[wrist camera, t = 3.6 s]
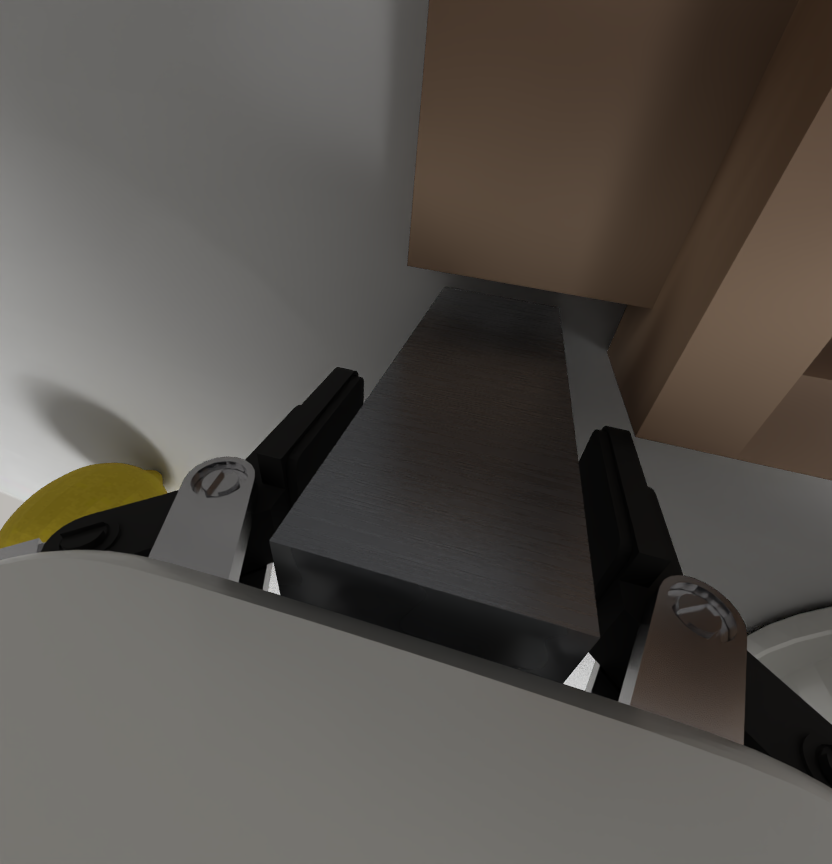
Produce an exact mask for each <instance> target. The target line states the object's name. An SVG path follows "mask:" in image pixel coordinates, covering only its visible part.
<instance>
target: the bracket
mask: <svg viewBox="0 0 832 864" xmlns="http://www.w3.org/2000/svg"><path fill="white" fill-rule="evenodd" d="M269 542H270V547H271V552H272V556H273V561H274V566H275V571H276V576H277V581H278V586H279V590H280V595H281V596H284V597H287V598H290V599H294V600H297V601H300V602H303V603H307V604H310V605H313V606H316V607H320V608H323V609H326V610H329V611H333V612H336V613H339V614H342V615H346V616H349V617H352V618H355V619H358V620H362V621H365V622H368V623H371V624H374V625H378V626H381V627H384V628H387V629H390V630H394V631H397V632H400V633H403V634H406V635H410V636H413V637H416V638H419V639H422V640H426V641H429V642H432V643H435V644H438V645H442V646H445V647H448V648H451V649H454V650H457V651H461V652H464V653H467V654H470V655H473V656H477V657H480V658H483V659H486V660H489V661H492V662H496V663H499V664H502V665H505V666H508V667H511V668H514V669H518V670H521V671H524V672H527V673H530V674H533V675H536V676H539V677H543V678H546V679H549V680H552V681H555V682H558V683H561V684H563V683H564V681H565V680H566V679H567V678H568V677H569V675H570V674H571V673H572V672H573V670H574V669H575V668H576V667H577V666H578V664H579V663H580V662H581V661H582V659H583V658H584V657H585V656H586V655H587V653H588V652H589V651H590V650H591V648H592V647H593V646H594V645H595V644H596V642H597V641H598V640H599V639H600V632H599V624H598V616H597V608H596V600H595V592H594V584H593V576H592V568H591V560H590V552H589V544H588V536H587V528H586V520H585V512H584V504H583V496H582V488H581V479H580V471H579V463H578V455H577V447H576V439H575V431H574V423H573V415H572V407H571V399H570V391H569V383H568V375H567V367H566V359H565V351H564V343H563V335H562V327H561V319H560V311H559V307H553V306H548V305H542V304H537V303H531V302H526V301H520V300H515V299H509V298H504V297H498V296H493V295H487V294H482V293H476V292H471V291H465V290H460V289H454V288H449V287H444V288H443V290H442V291H441V293H440V294H439V296H438V297H437V299H436V300H435V301H434V303H433V304H432V306H431V307H430V309H429V310H428V312H427V313H426V314H425V316H424V317H423V319H422V320H421V322H420V323H419V325H418V326H417V327H416V329H415V330H414V332H413V333H412V335H411V336H410V338H409V339H408V341H407V342H406V343H405V345H404V346H403V348H402V349H401V351H400V352H399V354H398V355H397V356H396V358H395V359H394V361H393V362H392V364H391V365H390V367H389V368H388V369H387V371H386V372H385V374H384V375H383V377H382V378H381V380H380V381H379V383H378V384H377V385H376V387H375V388H374V390H373V391H372V393H371V394H370V396H369V397H368V398H367V400H366V401H365V403H364V404H363V406H362V407H361V409H360V410H359V411H358V413H357V414H356V416H355V417H354V419H353V420H352V422H351V423H350V424H349V426H348V427H347V429H346V430H345V432H344V433H343V435H342V436H341V438H340V439H339V440H338V442H337V443H336V445H335V446H334V448H333V449H332V451H331V452H330V453H329V455H328V456H327V458H326V459H325V461H324V462H323V464H322V465H321V466H320V468H319V469H318V471H317V472H316V474H315V475H314V477H313V478H312V480H311V481H310V482H309V484H308V485H307V487H306V488H305V490H304V491H303V493H302V494H301V495H300V497H299V498H298V500H297V501H296V503H295V504H294V506H293V507H292V508H291V510H290V511H289V513H288V514H287V516H286V517H285V519H284V520H283V521H282V523H281V524H280V526H279V527H278V529H277V530H276V532H275V533H274V535H273V536H272V537H271V539H270V540H269Z"/></svg>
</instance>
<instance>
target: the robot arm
mask: <svg viewBox="0 0 832 864" xmlns="http://www.w3.org/2000/svg"><path fill="white" fill-rule="evenodd" d="M363 398H364V380H363V378H361V377H358V373H357V371H353V370H349V369H344V368H340V367H337V368H335V369H334V370H333V371H332V372H331V374H330V375H329V376H328V377H327V378H326V379H325V380H324V381H323V382H322V383H321V384H320V385H319V386H318V388H317V389H316V390H315V391H314V392H313V393H312V394H311V395H310V396H309V397H308V398H307V399H306V400H305V401H304V403H303V404H302V405H298V406H296V407H295V408H294V409H293V410H292V411H291V412H290V413H289V414H288V415H287V416H286V417H285V418H284V419H283V420H282V422H281V423H280V424H279V425H278V426H277V427H276V428H275V429H274V430H273V431H272V432H271V433H270V434H269V435H268V436H267V437H266V438H265V439H264V441H263V442H262V443H261V444H260V445H259V446H258V447H257V448H256V449H255V450H254V451H253V452H252V453H251V454H250V455H249V456H248V457H247V458H246V460H244V459H241V458H238V457H219V458H214V459H211V460H208V461H205V462H203V463H201V464H199V465H197V466H196V467H195V468H193V469H192V470H191V471H190V472H189V473H188V474H187V476H186V477H185V478H184V480H183V482H182V484H181V487H180V489H179V490H178V491H174V492H170V493H167V494H163V495H159V496H156V497H152V498H148V499H145V500H141V501H137V502H134V503H130V504H126V505H123V506H119V507H115V508H112V509H108V510H104V511H101V512H97V513H93V514H90V515H87V516H84V517H81V518H78V519H75V520H74V521H72V522H70V523H68V524H66V525H64V526H63V527H61V528H60V529H59V530H58V531H56V532H55V533H54V534H53V535H51V537H50V538H49V539H48V540H47V541H46V542H44V543H43V542H42V541H41V540H40V539H39V538H37V539H33V540H30V541H26V542H22V543H19V544H15V545H12V546H8V547H5V548H1V549H0V864H832V606H831V607H826V608H822V609H818V610H813V611H809V612H805V613H800V614H797V615H794V616H791V617H789V618H786V619H783V620H780V621H777V622H774V623H771V624H769V625H767V626H765V627H763V628H761V629H759V630H757V631H755V632H753V633H751V634H750V635H748V636H747V632H746V626H745V623H744V621H743V620H742V618H741V616H740V614H739V612H738V611H737V610H736V609H735V607H734V606H733V605H732V604H731V602H730V601H729V600H728V599H726V598H725V597H724V596H723V595H722V594H721V593H720V592H719V591H717V590H716V589H714V588H712V587H711V586H709V585H708V584H706V583H704V582H702V581H700V580H697V579H695V578H693V577H688V576H683V573H682V570H681V567H680V564H679V562H678V559H677V556H676V553H675V550H674V547H673V544H672V541H671V538H670V535H669V532H668V529H667V526H666V523H665V520H664V517H663V514H662V511H661V508H660V505H659V502H658V499H657V496H656V494H655V492H654V490H653V489H652V488H650V487H648V486H647V483H646V480H645V477H644V474H643V471H642V468H641V464H640V461H639V458H638V455H637V452H636V449H635V446H634V443H633V440H632V437H631V434H630V432H629V431H627V430H622V429H618V428H613V427H609V426H605V427H603V429H602V430H594V432H593V433H592V435H591V437H590V440H589V442H588V444H587V446H586V448H585V450H584V452H583V454H582V456H581V458H580V461H579V471H580V479H581V488H582V496H583V504H584V512H585V520H586V528H587V536H588V544H589V552H590V560H591V568H592V576H593V584H594V592H595V600H596V608H597V616H598V624H599V632H600V639H599V640H598V641H597V642H596V644H595V645H594V646H593V647H592V648H591V650H590V651H589V653H590V654H591V655H592V657H593V658H594V659H595V660H596V661H595V663H594V666H593V669H592V672H591V675H590V678H589V681H588V684H587V686H586V689H585V691H583V690H580V689H577V688H574V687H571V686H568V685H565V684H561V683H558V682H555V681H552V680H549V679H546V678H543V677H539V676H536V675H533V674H530V673H527V672H524V671H521V670H518V669H514V668H511V667H508V666H505V665H502V664H499V663H496V662H492V661H489V660H486V659H483V658H480V657H477V656H473V655H470V654H467V653H464V652H461V651H457V650H454V649H451V648H448V647H445V646H442V645H438V644H435V643H432V642H429V641H426V640H422V639H419V638H416V637H413V636H410V635H406V634H403V633H400V632H397V631H394V630H390V629H387V628H384V627H381V626H378V625H374V624H371V623H368V622H365V621H362V620H358V619H355V618H352V617H349V616H346V615H342V614H339V613H336V612H333V611H329V610H326V609H323V608H320V607H316V606H313V605H310V604H307V603H303V602H300V601H297V600H294V599H290V598H287V597H284V596H281V595H277V594H274V593H271V592H268V588H269V582H270V576H271V570H272V564H273V562H274V561H273V556H272V552H271V547H270V542H269V540H270V539H271V537H272V536H273V535H274V533H275V532H276V530H277V529H278V527H279V526H280V524H281V523H282V521H283V520H284V519H285V517H286V516H287V514H288V513H289V511H290V510H291V508H292V507H293V506H294V504H295V503H296V501H297V500H298V498H299V497H300V495H301V494H302V493H303V491H304V490H305V488H306V487H307V485H308V484H309V482H310V481H311V480H312V478H313V477H314V475H315V474H316V472H317V471H318V469H319V468H320V466H321V465H322V464H323V462H324V461H325V459H326V458H327V456H328V455H329V453H330V452H331V451H332V449H333V448H334V446H335V445H336V443H337V442H338V440H339V439H340V438H341V436H342V435H343V433H344V432H345V430H346V429H347V427H348V426H349V424H350V423H351V422H352V420H353V419H354V417H355V416H356V414H357V413H358V411H359V410H360V409H361V407H362V406H363Z"/></svg>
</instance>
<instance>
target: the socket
mask: <svg viewBox="0 0 832 864" xmlns="http://www.w3.org/2000/svg"><path fill="white" fill-rule="evenodd" d="M407 266H411V267H417V268H423V269H428V270H434V271H440V272H445V273H451V274H457V275H462V276H468V277H474V278H479V279H485V280H491V281H496V282H502V283H508V284H513V285H519V286H525V287H531V288H536V289H542V290H548V291H553V292H559V293H565V294H570V295H576V296H582V297H587V298H593V299H599V300H604V301H610V302H616V303H621V304H627V307H626V309H625V312H624V314H623V316H622V318H621V321H620V323H619V325H618V328H617V330H616V332H615V335H614V337H613V339H612V341H611V344H610V346H609V348H608V351H607V354H608V357H609V360H610V363H611V366H612V369H613V372H614V375H615V378H616V381H617V384H618V387H619V390H620V393H621V396H622V399H623V402H624V405H625V408H626V411H627V414H628V417H629V420H630V423H631V426H632V429H633V432H634V435H635V437H638V438H642V439H647V440H652V441H656V442H661V443H665V444H670V445H674V446H679V447H683V448H688V449H692V450H697V451H701V452H706V453H710V454H715V455H719V456H724V457H728V458H733V459H737V460H742V461H746V462H751V463H756V464H760V465H765V466H769V467H774V468H778V469H783V470H787V471H792V472H796V473H801V474H805V475H810V476H814V477H819V478H823V479H828V480H832V0H429V9H428V21H427V33H426V45H425V57H424V69H423V81H422V93H421V106H420V118H419V130H418V142H417V154H416V166H415V178H414V191H413V203H412V215H411V227H410V239H409V251H408V263H407Z"/></svg>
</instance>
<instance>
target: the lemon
mask: <svg viewBox="0 0 832 864" xmlns="http://www.w3.org/2000/svg"><path fill="white" fill-rule="evenodd" d="M163 494H167V491H166V489H165V488H164V486H163V480H162V475H161V474H160V473H159V472H158V471H156V470H143V469H141V468H139V467H136V466H132V465H128V464H123V463H101V464H94V465H89V466H86V467H82V468H79V469H77V470H74V471H72V472H70V473H68V474H66V475H64V476H62V477H60V478H58V479H56V480H54V481H52V482H51V483H49V484H47V485H46V486H44V487H43V488H41V489H40V490H39V491H37V492H36V493H35V494H33V495H32V496H31V497H30V498H29V499H28V500H26V501H25V502H24V503H23V504H22V505H21V506H20V507H19V508H18V509H17V510H16V511H15V512H14V513H13V515H12V516H11V517H10V518H9V519H8V521H7V522H6V523H5V524H4V526H3V528H2V529H1V531H0V549H1V548H5V547H8V546H12V545H15V544H19V543H22V542H26V541H30V540H33V539H37V538H39V539H40V540H41V541H42V542H43V543H44V542H46V541H47V540H48V539H49V538H50V537H51V535H53V534H54V533H55V532H56V531H58V530H59V529H60V528H61V527H63V526H64V525H66V524H68V523H70V522H72V521H74V520H75V519H78V518H81V517H84V516H87V515H90V514H93V513H97V512H101V511H104V510H108V509H112V508H115V507H119V506H123V505H126V504H130V503H134V502H137V501H141V500H145V499H148V498H152V497H156V496H159V495H163Z"/></svg>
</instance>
